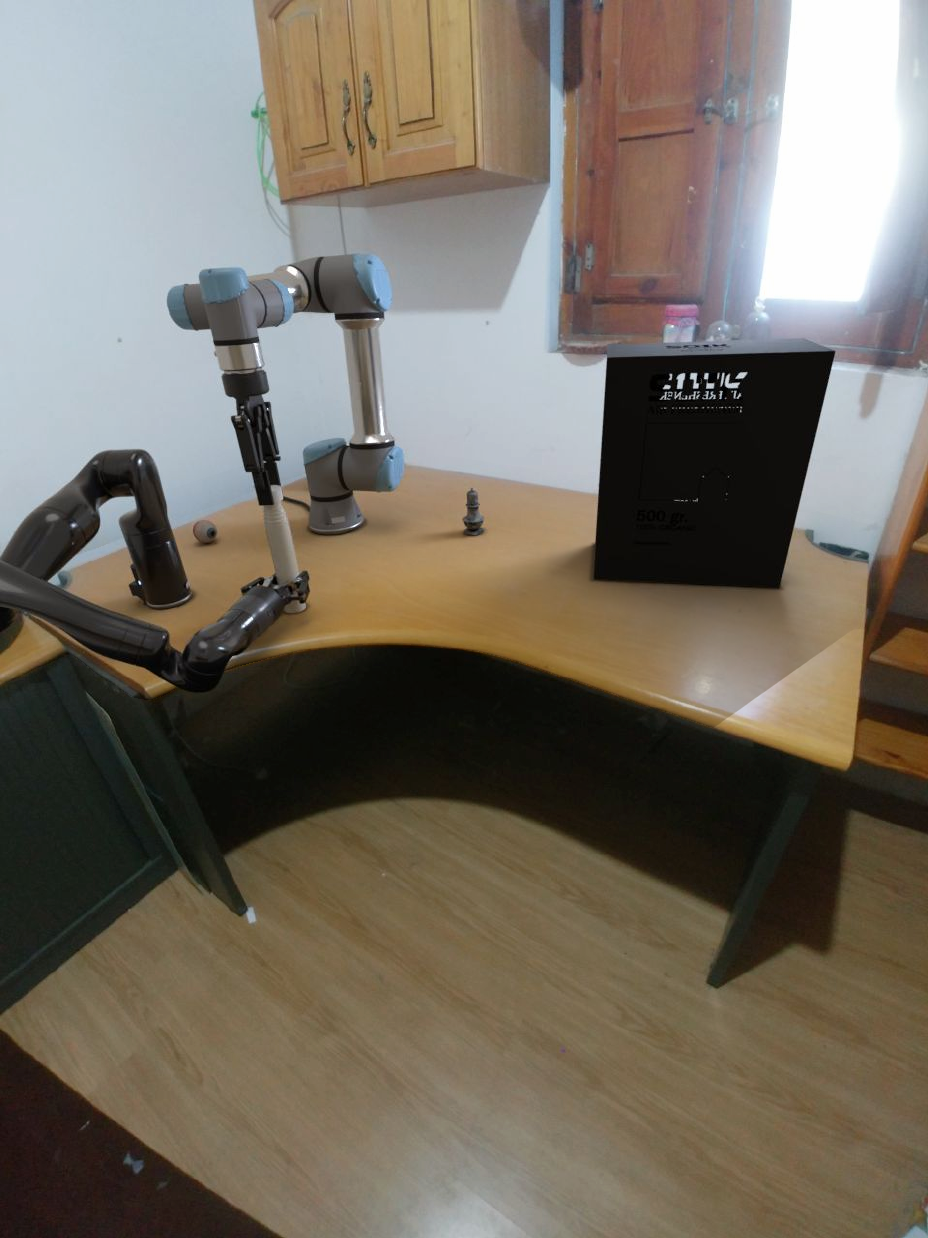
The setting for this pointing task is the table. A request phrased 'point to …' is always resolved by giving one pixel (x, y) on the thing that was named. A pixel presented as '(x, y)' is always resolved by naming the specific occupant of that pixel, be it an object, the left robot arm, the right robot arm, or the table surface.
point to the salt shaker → (473, 515)
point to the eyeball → (205, 531)
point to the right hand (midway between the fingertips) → (271, 499)
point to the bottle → (282, 549)
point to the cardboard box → (706, 459)
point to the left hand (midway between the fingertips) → (294, 574)
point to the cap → (276, 493)
